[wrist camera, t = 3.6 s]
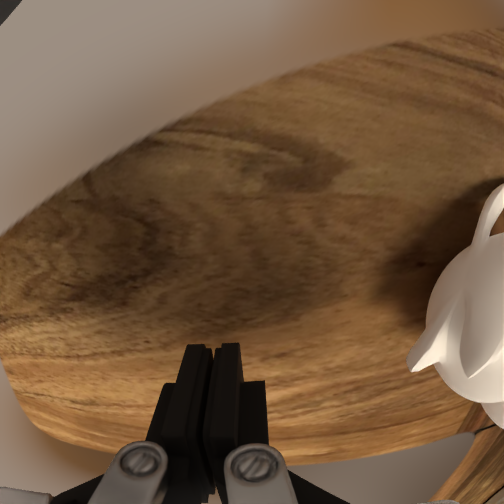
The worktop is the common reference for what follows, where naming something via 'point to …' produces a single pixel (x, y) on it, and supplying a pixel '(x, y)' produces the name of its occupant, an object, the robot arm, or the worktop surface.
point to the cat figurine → (470, 318)
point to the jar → (497, 498)
